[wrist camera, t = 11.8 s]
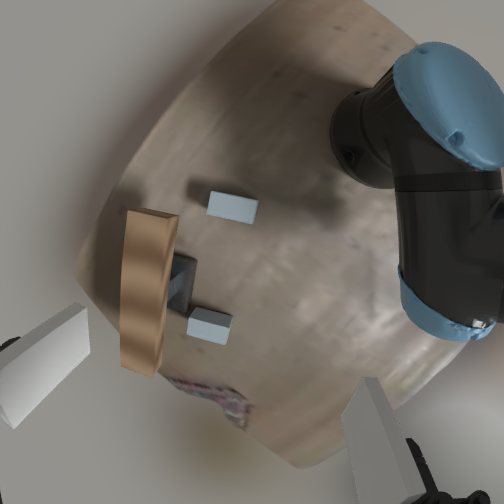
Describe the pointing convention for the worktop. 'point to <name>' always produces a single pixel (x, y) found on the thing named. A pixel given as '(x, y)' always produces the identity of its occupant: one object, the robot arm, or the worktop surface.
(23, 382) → the robot arm
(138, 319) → the plank
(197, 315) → the posts
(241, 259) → the worktop surface
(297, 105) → the worktop surface
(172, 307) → the fulcrum
